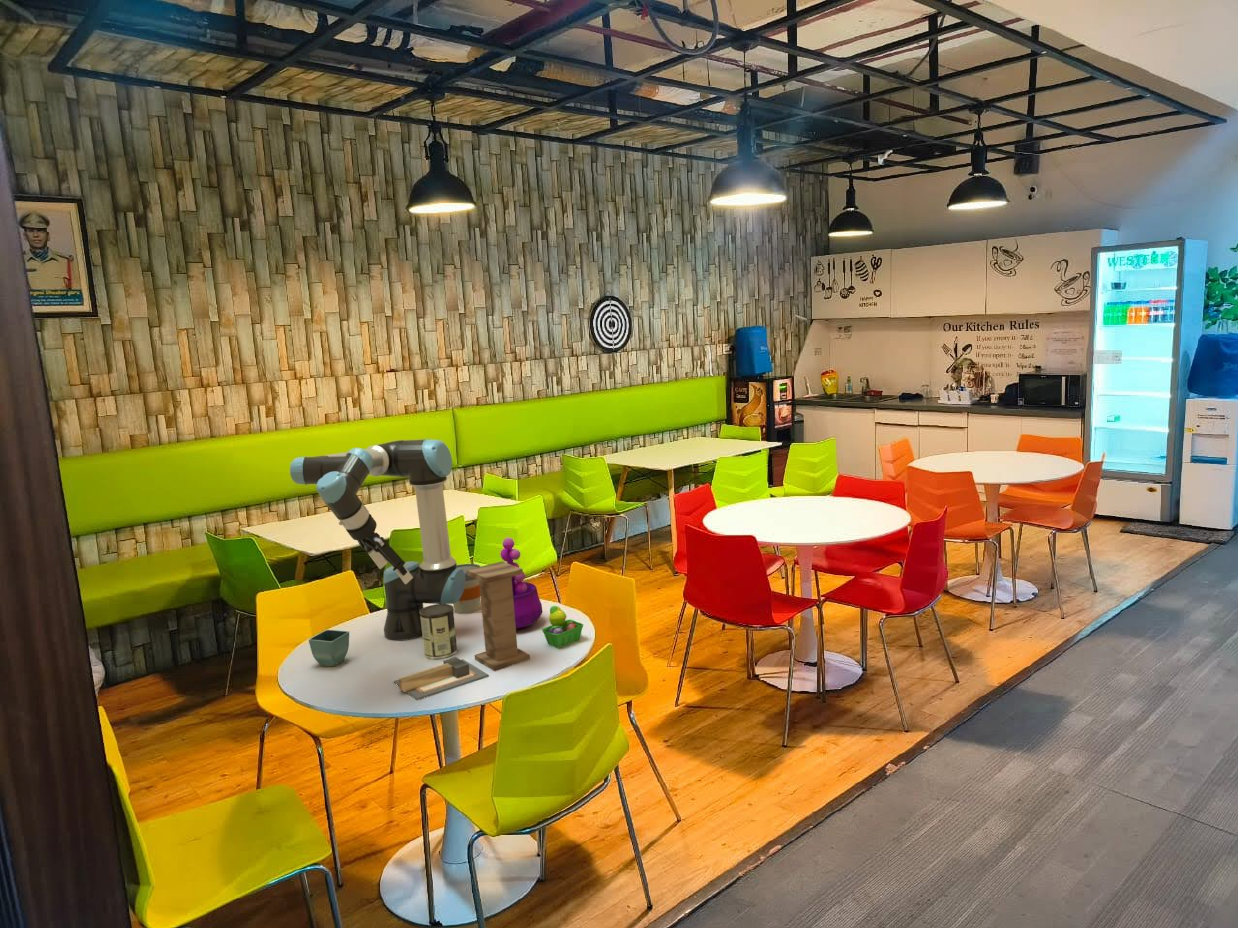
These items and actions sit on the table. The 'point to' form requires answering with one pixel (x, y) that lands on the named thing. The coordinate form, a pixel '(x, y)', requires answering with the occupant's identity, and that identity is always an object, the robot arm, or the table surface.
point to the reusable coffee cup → (469, 592)
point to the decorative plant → (521, 590)
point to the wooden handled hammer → (435, 674)
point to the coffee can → (438, 631)
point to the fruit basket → (561, 629)
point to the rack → (498, 615)
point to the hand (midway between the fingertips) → (395, 573)
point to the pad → (446, 683)
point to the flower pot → (330, 647)
